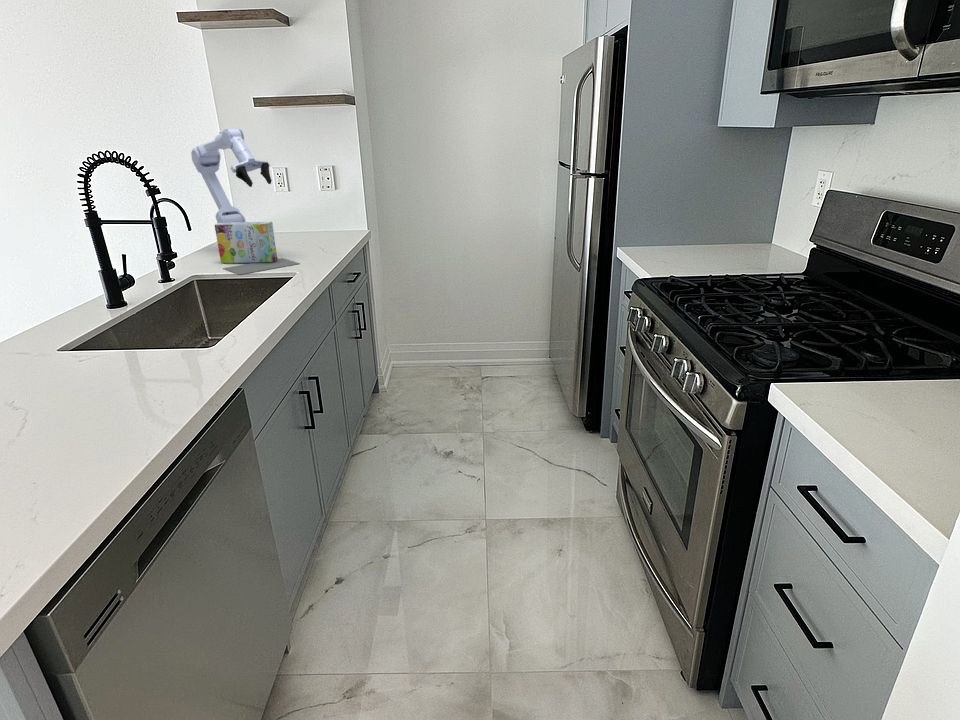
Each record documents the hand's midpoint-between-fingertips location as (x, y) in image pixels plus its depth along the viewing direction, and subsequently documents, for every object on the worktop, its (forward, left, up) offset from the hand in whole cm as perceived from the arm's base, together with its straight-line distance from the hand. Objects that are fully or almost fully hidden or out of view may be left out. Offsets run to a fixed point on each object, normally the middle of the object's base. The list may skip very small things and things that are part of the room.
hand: (260, 183), depth 233 cm
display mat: (+6, -7, -29) cm, 31 cm away
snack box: (-4, -7, -29) cm, 30 cm away
